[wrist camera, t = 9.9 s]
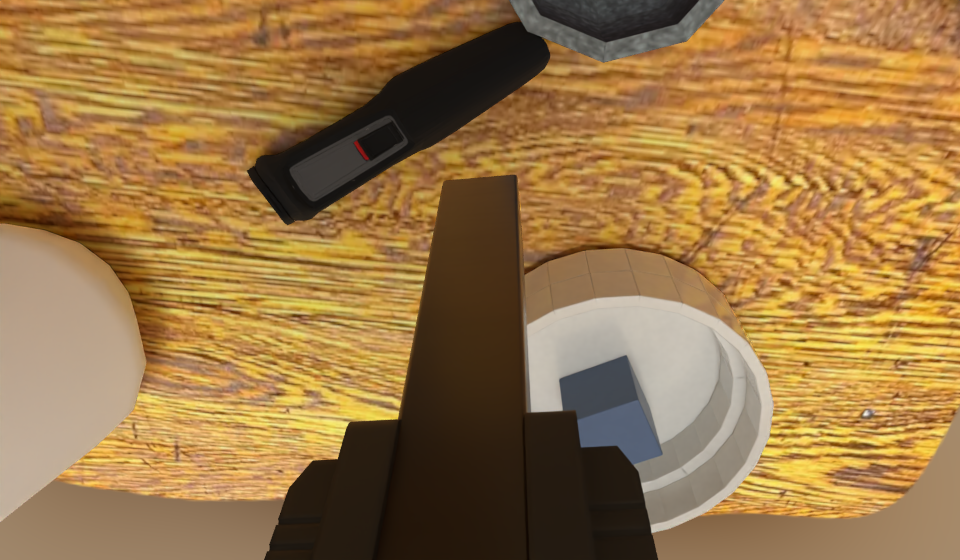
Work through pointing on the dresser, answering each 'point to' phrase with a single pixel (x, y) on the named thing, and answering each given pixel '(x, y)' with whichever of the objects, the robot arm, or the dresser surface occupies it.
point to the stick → (466, 389)
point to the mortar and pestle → (614, 23)
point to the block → (612, 409)
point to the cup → (59, 358)
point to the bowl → (656, 367)
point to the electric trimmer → (399, 121)
